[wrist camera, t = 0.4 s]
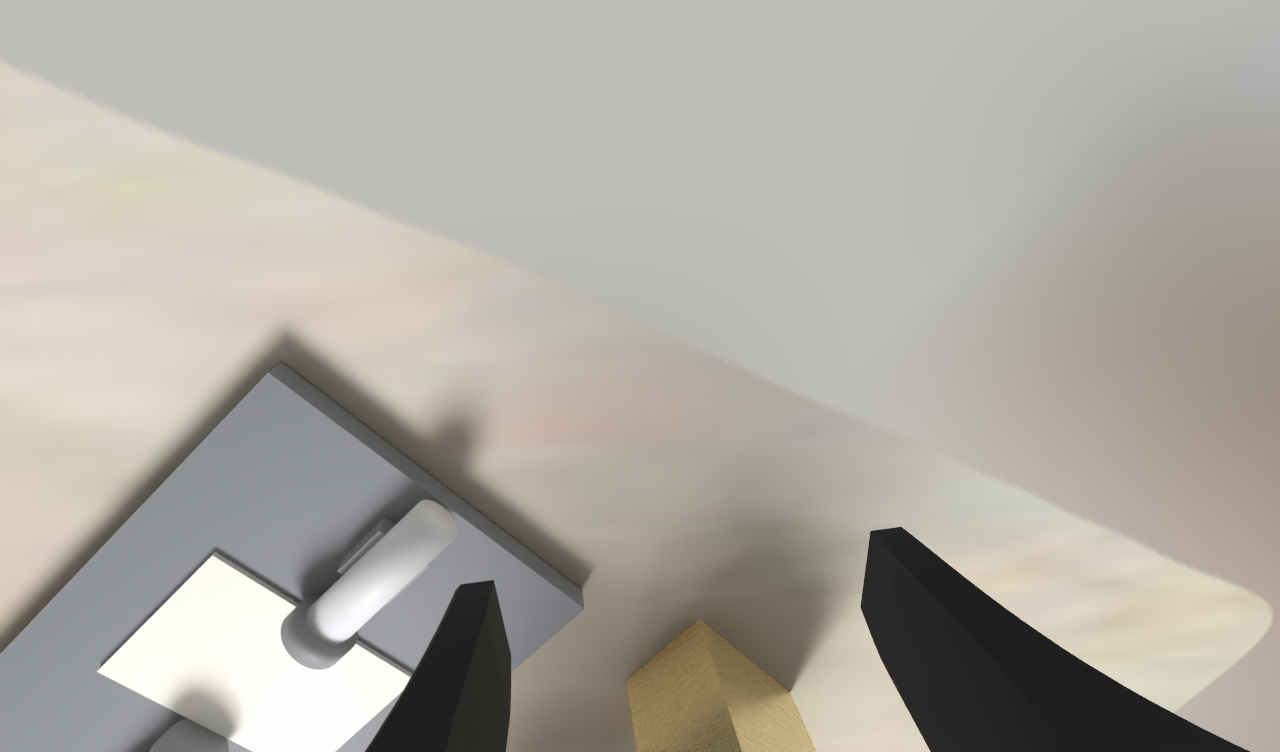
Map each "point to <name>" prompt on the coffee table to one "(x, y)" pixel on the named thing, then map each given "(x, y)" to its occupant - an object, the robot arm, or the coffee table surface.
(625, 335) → the coffee table surface
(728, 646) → the wooden block
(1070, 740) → the robot arm
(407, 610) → the shaft rig
